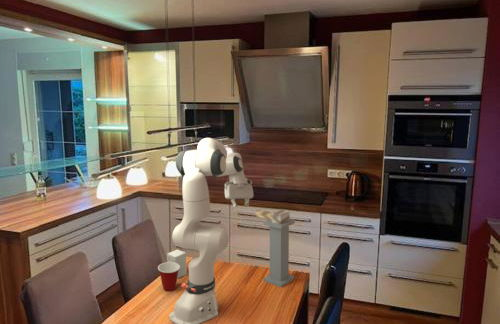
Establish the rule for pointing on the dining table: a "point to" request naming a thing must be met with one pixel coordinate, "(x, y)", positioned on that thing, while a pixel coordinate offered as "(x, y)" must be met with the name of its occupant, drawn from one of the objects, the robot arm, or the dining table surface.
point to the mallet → (274, 215)
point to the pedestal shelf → (279, 253)
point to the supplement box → (178, 261)
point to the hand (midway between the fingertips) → (241, 206)
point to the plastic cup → (169, 275)
